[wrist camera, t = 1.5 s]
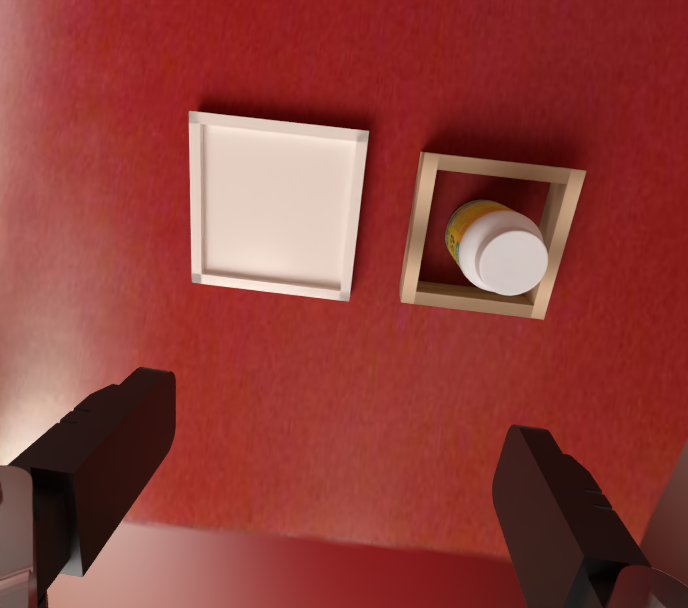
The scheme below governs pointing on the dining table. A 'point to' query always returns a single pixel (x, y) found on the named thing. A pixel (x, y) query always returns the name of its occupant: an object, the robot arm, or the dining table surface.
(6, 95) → the dining table surface
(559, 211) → the oak holder
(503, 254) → the supplement bottle
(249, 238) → the ceramic tray
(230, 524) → the dining table surface
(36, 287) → the dining table surface
